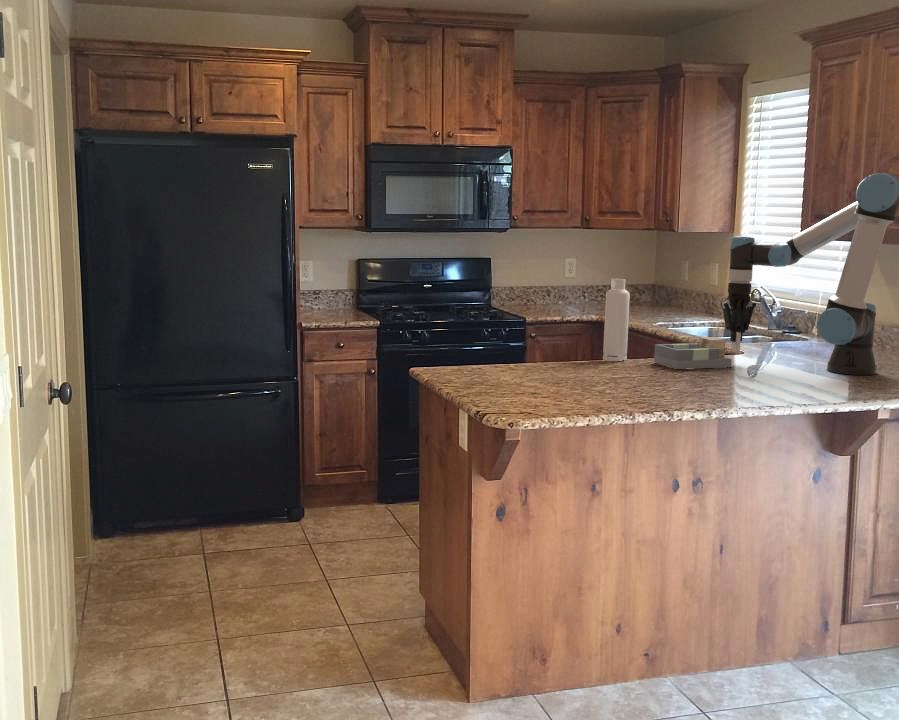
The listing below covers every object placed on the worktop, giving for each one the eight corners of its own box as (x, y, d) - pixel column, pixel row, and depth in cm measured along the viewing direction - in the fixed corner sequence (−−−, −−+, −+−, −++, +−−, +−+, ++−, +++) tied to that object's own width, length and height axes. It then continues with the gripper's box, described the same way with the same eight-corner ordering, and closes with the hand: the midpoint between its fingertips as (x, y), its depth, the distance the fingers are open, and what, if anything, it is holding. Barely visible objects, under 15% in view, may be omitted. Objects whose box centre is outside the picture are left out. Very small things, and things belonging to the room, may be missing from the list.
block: (724, 357, 330) (725, 339, 329) (709, 357, 328) (710, 339, 327) (714, 354, 336) (715, 337, 335) (699, 355, 334) (700, 337, 333)
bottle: (631, 361, 337) (635, 279, 333) (610, 362, 334) (614, 279, 330) (618, 357, 344) (622, 278, 340) (598, 358, 341) (602, 278, 337)
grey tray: (731, 367, 327) (732, 348, 326) (676, 369, 320) (677, 350, 319) (706, 361, 340) (708, 342, 339) (653, 363, 333) (654, 344, 332)
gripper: (749, 281, 337) (744, 349, 340) (717, 281, 333) (712, 350, 336) (763, 282, 330) (758, 352, 333) (730, 283, 326) (725, 353, 329)
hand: (735, 351), depth 335 cm, fingers closed
